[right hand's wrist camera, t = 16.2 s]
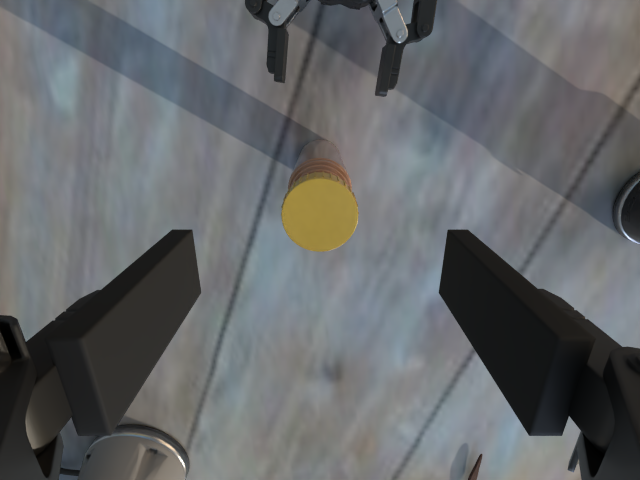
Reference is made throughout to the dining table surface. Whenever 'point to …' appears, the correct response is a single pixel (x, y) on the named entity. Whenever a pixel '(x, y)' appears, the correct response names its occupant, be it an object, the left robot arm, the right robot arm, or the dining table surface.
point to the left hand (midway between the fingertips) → (330, 89)
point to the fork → (475, 469)
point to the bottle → (319, 161)
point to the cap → (319, 212)
